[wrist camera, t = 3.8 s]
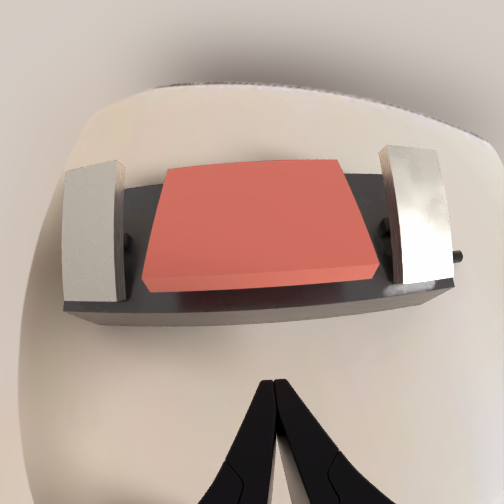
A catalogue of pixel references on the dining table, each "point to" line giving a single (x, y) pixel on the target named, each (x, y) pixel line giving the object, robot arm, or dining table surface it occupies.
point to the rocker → (257, 228)
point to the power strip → (254, 299)
